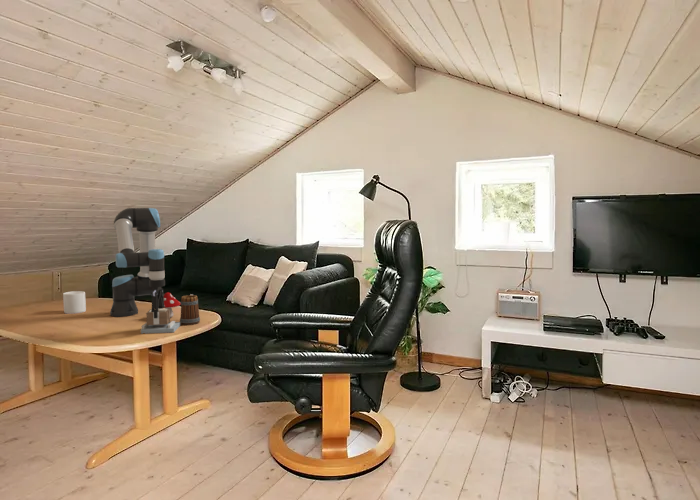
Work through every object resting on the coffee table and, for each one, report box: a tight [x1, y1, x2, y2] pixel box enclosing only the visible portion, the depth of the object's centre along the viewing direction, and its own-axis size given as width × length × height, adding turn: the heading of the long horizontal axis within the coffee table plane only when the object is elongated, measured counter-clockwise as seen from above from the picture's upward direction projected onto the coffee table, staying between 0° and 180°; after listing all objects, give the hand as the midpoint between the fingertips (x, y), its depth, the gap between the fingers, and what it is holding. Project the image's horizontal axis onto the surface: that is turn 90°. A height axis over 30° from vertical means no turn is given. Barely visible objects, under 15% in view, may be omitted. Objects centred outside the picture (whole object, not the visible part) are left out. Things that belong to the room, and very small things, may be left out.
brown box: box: [145, 308, 171, 325], centre depth 239 cm, size 7×10×7 cm
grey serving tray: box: [140, 320, 181, 335], centre depth 241 cm, size 15×16×4 cm
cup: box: [62, 290, 87, 315], centre depth 284 cm, size 12×12×12 cm
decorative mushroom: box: [163, 291, 181, 319], centre depth 267 cm, size 14×14×15 cm
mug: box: [179, 293, 201, 326], centre depth 257 cm, size 16×11×15 cm
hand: (158, 322), depth 239 cm, fingers closed on brown box, 7 cm apart
